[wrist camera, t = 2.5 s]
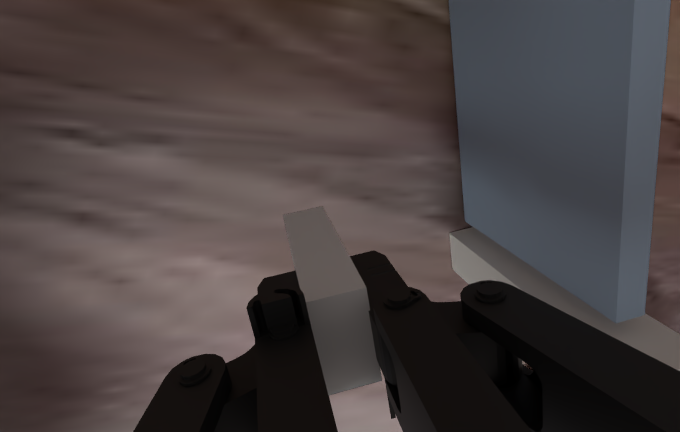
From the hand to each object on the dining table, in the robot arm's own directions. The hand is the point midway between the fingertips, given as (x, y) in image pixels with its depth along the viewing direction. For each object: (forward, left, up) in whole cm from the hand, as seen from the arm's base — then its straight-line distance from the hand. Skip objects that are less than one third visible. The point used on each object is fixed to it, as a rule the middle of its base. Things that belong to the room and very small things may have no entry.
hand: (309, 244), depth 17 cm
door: (+11, +11, -8) cm, 17 cm away
